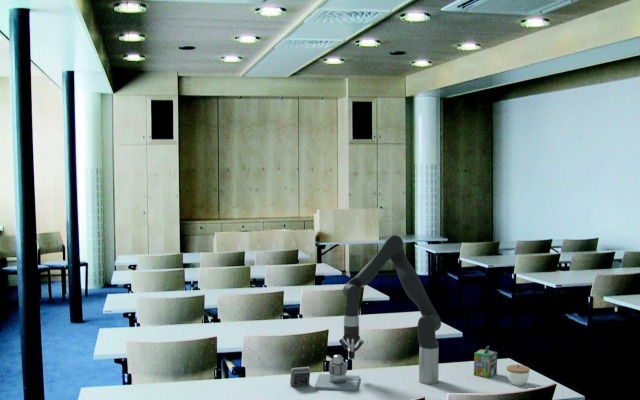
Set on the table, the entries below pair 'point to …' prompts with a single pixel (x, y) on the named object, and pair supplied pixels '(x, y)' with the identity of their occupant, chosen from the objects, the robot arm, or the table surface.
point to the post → (337, 377)
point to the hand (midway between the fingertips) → (351, 358)
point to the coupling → (338, 368)
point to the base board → (349, 385)
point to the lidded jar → (517, 374)
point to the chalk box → (485, 363)
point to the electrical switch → (300, 377)
